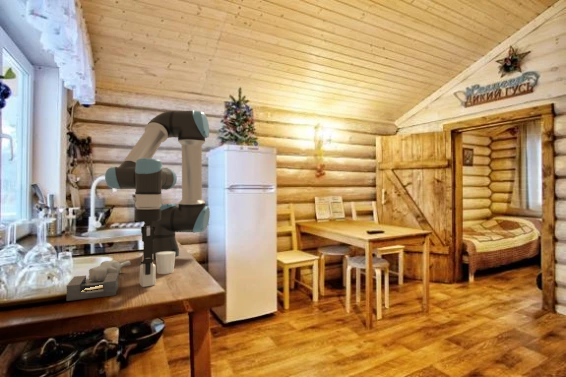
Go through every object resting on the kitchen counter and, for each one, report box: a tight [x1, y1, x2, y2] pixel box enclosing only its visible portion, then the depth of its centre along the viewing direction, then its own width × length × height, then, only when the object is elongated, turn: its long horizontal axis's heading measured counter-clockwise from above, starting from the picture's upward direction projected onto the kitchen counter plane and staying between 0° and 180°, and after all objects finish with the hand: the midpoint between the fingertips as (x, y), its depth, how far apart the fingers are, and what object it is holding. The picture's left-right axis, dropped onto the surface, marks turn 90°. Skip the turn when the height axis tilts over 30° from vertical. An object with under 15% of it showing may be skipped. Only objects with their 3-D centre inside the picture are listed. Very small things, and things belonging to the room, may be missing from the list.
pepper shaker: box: [139, 253, 157, 288], centre depth 96 cm, size 4×4×10 cm
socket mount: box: [65, 273, 119, 302], centre depth 88 cm, size 10×12×4 cm
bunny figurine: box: [88, 259, 132, 282], centre depth 105 cm, size 10×5×15 cm
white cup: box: [155, 251, 176, 275], centre depth 111 cm, size 7×7×7 cm
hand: (147, 280), depth 96 cm, fingers open, 8 cm apart
